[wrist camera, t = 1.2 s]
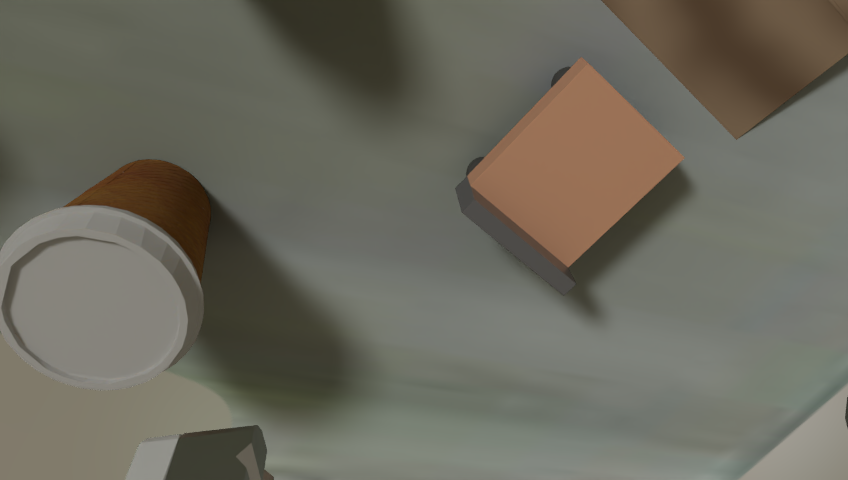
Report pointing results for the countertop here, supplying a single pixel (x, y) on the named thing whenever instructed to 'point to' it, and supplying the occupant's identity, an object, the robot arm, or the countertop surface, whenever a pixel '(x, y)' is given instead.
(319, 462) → the countertop surface
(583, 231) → the trolley
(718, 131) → the countertop surface
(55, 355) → the disposable coffee cup
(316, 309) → the countertop surface
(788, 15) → the loading dock
